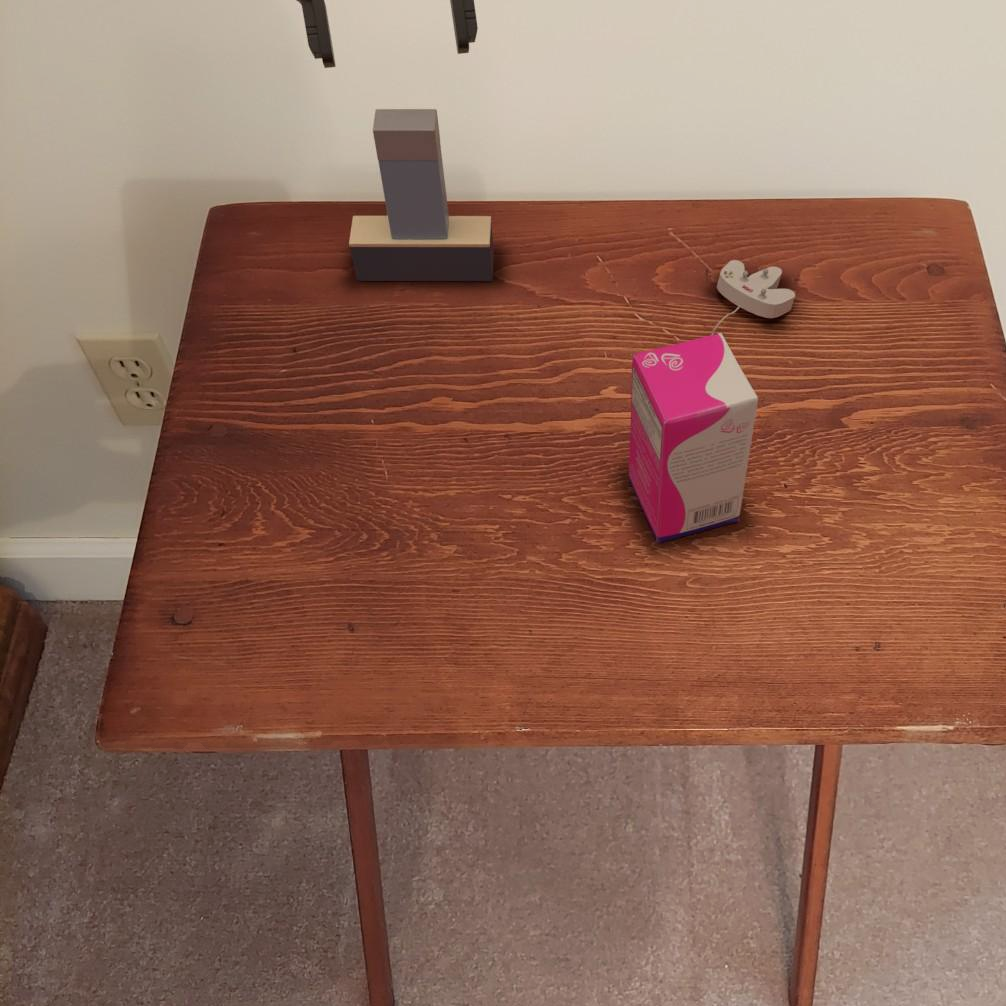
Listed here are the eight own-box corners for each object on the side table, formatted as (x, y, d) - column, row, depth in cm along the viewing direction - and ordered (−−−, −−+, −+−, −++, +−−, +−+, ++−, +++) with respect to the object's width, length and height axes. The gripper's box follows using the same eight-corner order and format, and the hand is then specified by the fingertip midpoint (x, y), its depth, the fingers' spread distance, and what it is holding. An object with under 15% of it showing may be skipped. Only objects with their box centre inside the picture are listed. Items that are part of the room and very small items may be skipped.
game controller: (802, 286, 87) (808, 259, 85) (754, 395, 81) (759, 369, 79) (729, 266, 88) (733, 238, 86) (677, 372, 82) (680, 345, 80)
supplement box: (707, 454, 78) (724, 328, 69) (740, 522, 75) (764, 401, 66) (624, 475, 77) (631, 350, 68) (655, 545, 74) (666, 425, 65)
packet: (391, 239, 84) (372, 129, 76) (393, 218, 85) (375, 108, 77) (448, 239, 84) (434, 129, 76) (449, 218, 85) (436, 108, 78)
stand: (356, 281, 87) (348, 243, 84) (360, 253, 88) (352, 215, 85) (492, 281, 87) (489, 244, 84) (494, 253, 88) (491, 215, 85)
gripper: (467, -211, 75) (503, 60, 79) (242, -193, 74) (290, 82, 77) (472, -269, 68) (511, 32, 72) (222, -252, 66) (275, 55, 70)
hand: (396, 58), depth 75 cm, fingers open, 8 cm apart
